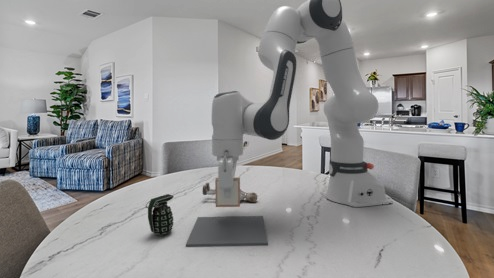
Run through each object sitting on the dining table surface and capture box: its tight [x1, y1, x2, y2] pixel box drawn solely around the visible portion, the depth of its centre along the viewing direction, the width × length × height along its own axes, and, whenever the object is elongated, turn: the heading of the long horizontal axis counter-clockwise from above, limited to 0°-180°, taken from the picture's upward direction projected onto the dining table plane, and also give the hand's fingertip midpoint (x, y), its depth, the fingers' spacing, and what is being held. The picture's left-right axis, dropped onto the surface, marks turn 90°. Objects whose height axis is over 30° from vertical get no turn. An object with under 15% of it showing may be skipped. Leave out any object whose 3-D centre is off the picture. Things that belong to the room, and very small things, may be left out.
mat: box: [185, 215, 269, 248], centre depth 69 cm, size 20×16×1 cm
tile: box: [214, 177, 241, 208], centre depth 73 cm, size 7×3×8 cm, turn 90°
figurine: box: [202, 182, 258, 204], centre depth 92 cm, size 6×6×20 cm
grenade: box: [145, 193, 174, 237], centre depth 67 cm, size 7×6×10 cm
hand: (228, 195), depth 73 cm, fingers closed on tile, 3 cm apart
